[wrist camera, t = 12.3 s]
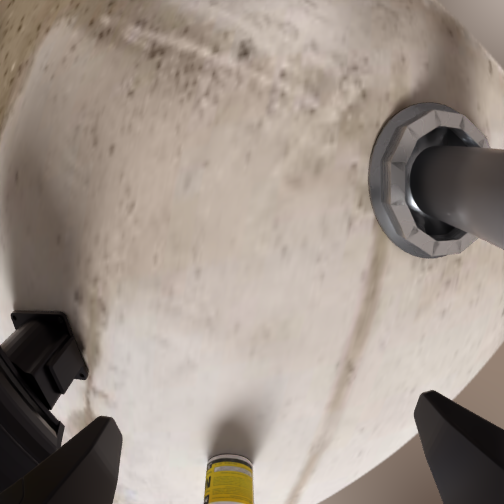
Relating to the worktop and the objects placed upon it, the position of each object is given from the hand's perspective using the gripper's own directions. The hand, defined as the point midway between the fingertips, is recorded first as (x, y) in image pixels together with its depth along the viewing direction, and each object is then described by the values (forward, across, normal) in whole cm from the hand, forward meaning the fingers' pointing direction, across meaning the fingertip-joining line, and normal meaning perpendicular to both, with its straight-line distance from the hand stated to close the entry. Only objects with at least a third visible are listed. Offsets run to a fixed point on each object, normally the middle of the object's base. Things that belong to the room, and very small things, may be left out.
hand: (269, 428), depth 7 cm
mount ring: (+13, -13, -5) cm, 19 cm away
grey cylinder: (+13, -13, -5) cm, 19 cm away
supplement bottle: (+13, +4, +22) cm, 26 cm away
